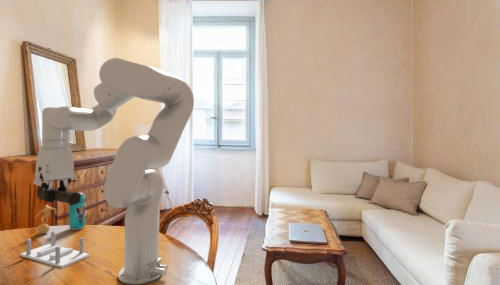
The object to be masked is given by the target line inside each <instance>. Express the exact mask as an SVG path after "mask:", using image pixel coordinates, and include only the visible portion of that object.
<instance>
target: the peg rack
mask: <svg viewBox="0 0 500 285" xmlns="http://www.w3.org/2000/svg"><path fill="white" fill-rule="evenodd" d="M50 240H51V241H50V243H48V244H45V245H42V246H39V247H36V248H33V249H32V239H31V238H28V239H26V240H25V242H26V243H25V244H26V247H25V249H26V250H25V251H24V252H21V253H20V257H23V258H26V259H30V260H33V261H37V262H40V263H43V264H47V265H50V266H53V267H58V268H60V269H64V268H67V267H68V266H71V265H73V264H75V263H78V262H79V261H82V260H84V259H86V258H88V257H90V253H87V252H85V251H84V241H85V240H84V237H80V238H79V242H78V243H79V244H78V245H79V246H78V247H79V250H76V249H73V248H72V247H63V246H61V245H60V244H59V245H58V244H56V231H51V232H50Z"/></svg>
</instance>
